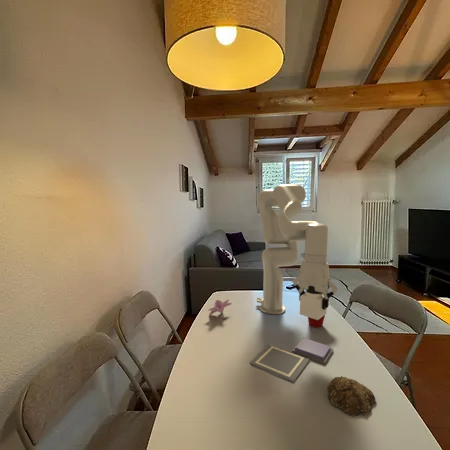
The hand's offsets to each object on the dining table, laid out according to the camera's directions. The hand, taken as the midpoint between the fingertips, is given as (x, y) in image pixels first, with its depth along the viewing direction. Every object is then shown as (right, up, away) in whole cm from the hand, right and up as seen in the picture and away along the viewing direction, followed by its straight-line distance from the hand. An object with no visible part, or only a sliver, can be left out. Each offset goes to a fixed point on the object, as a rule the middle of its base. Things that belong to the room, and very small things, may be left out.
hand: (313, 305), depth 101 cm
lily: (-34, -15, +31) cm, 49 cm away
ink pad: (0, -18, +2) cm, 18 cm away
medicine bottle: (0, -3, 0) cm, 4 cm away
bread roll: (+4, -21, -21) cm, 30 cm away
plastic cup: (+9, -15, +23) cm, 29 cm away
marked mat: (-13, -19, -4) cm, 23 cm away
